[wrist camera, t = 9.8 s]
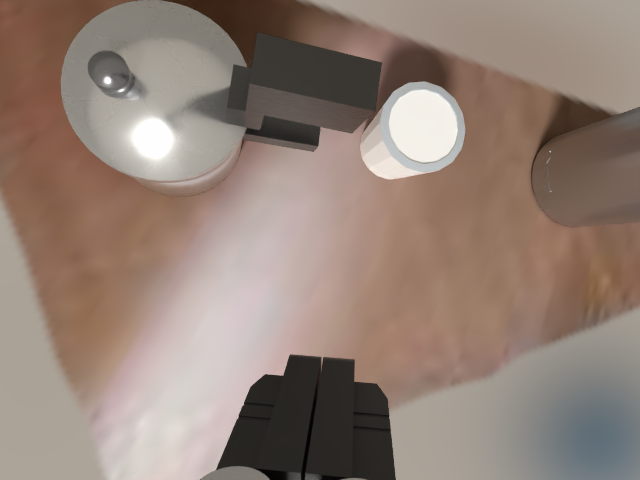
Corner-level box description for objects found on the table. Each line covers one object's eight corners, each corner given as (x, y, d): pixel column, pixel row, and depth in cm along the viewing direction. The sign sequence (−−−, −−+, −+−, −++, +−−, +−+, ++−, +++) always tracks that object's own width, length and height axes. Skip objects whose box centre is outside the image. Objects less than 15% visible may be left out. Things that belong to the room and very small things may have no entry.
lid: (348, 53, 29) (392, -19, 21) (326, 211, 29) (363, 195, 21) (83, -11, 26) (21, -125, 18) (52, 165, 25) (-26, 126, 17)
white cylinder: (372, 96, 39) (402, 63, 32) (436, 132, 40) (479, 108, 34) (340, 164, 38) (365, 145, 32) (407, 199, 40) (445, 188, 33)
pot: (306, 98, 38) (331, 52, 29) (293, 212, 37) (313, 201, 29) (122, 62, 35) (87, -2, 26) (104, 186, 34) (62, 164, 26)
